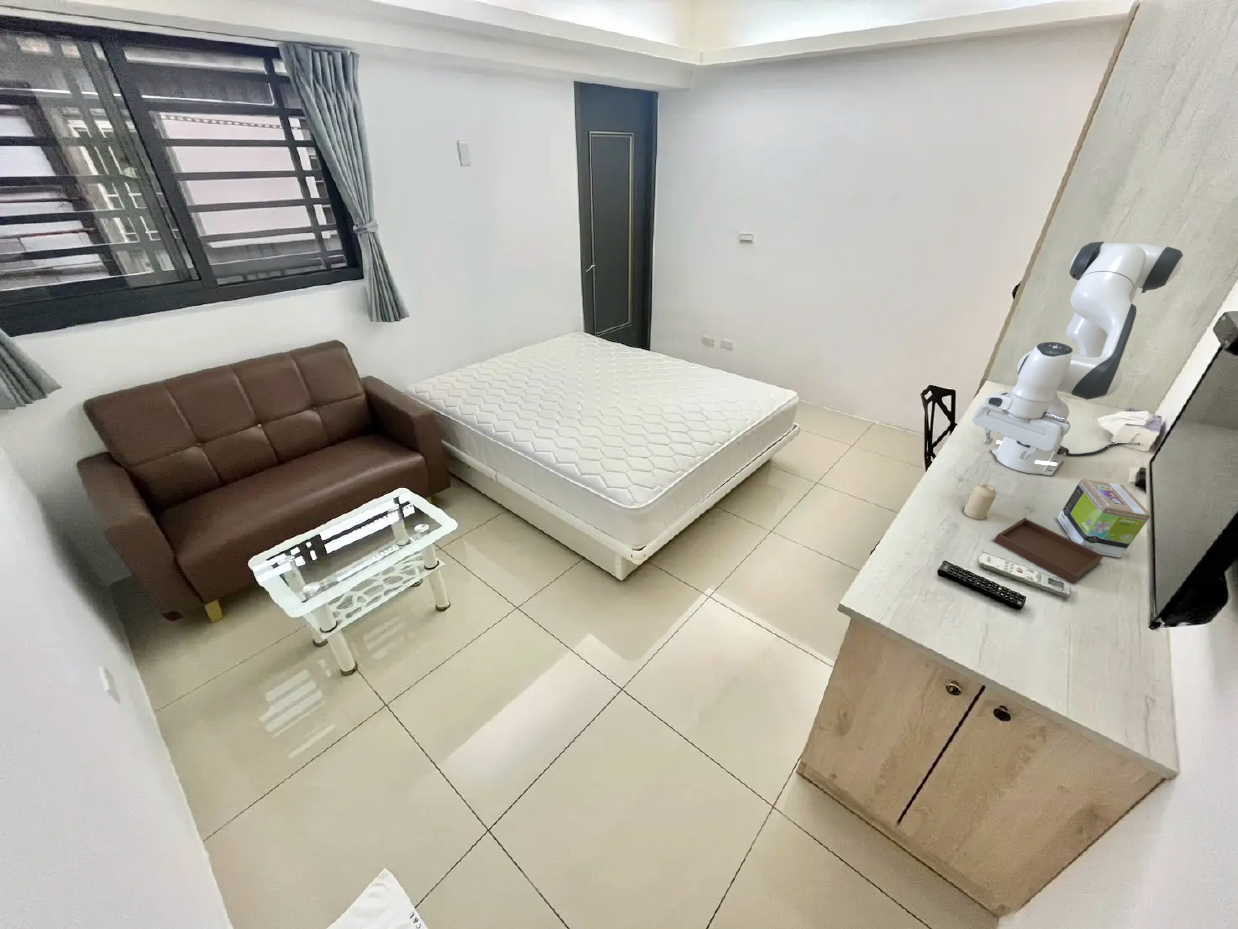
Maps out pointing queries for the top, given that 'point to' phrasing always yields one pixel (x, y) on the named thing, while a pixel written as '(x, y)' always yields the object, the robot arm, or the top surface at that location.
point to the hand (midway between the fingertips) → (1004, 451)
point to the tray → (1048, 550)
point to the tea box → (1103, 517)
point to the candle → (980, 501)
